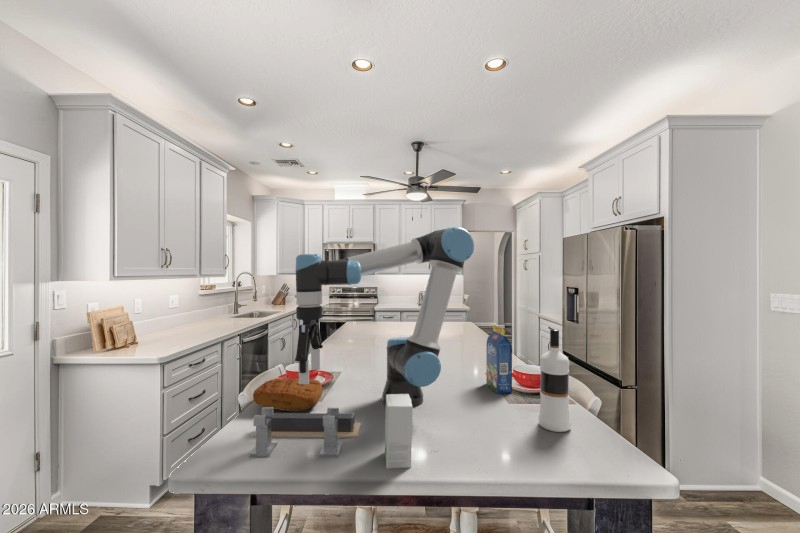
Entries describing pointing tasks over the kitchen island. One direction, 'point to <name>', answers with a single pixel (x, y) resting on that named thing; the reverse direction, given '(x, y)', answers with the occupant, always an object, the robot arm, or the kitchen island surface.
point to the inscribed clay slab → (288, 394)
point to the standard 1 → (263, 433)
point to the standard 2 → (331, 434)
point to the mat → (315, 433)
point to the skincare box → (398, 431)
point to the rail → (308, 422)
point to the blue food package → (499, 361)
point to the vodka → (554, 388)
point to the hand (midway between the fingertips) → (310, 376)
